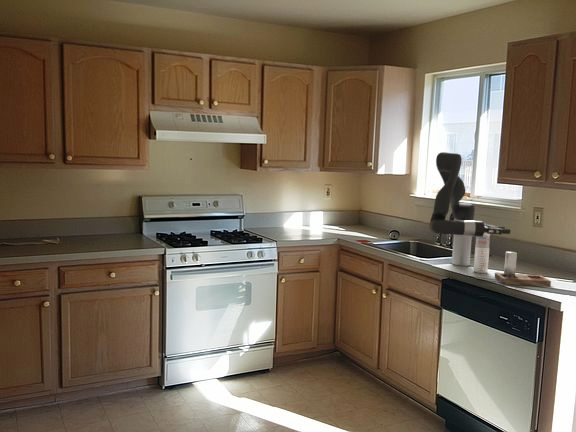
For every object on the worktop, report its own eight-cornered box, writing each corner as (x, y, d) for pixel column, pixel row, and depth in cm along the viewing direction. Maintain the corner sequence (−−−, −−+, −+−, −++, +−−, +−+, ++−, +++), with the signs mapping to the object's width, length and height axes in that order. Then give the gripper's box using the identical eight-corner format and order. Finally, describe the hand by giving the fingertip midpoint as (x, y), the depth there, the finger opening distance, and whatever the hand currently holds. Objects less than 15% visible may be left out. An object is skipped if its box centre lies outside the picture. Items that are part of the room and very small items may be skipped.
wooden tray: (494, 277, 270) (495, 272, 270) (540, 280, 268) (541, 274, 268) (501, 283, 258) (502, 278, 258) (550, 286, 256) (551, 280, 256)
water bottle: (470, 271, 281) (474, 223, 278) (477, 270, 286) (480, 222, 283) (483, 274, 276) (487, 224, 273) (489, 272, 281) (493, 223, 278)
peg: (501, 279, 266) (504, 251, 264) (512, 280, 266) (515, 251, 264) (505, 282, 261) (507, 253, 260) (515, 282, 261) (518, 253, 259)
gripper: (477, 222, 257) (512, 224, 256) (469, 218, 272) (503, 220, 270) (475, 238, 258) (511, 240, 257) (468, 233, 272) (502, 235, 271)
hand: (507, 230), depth 264 cm, fingers open, 8 cm apart
